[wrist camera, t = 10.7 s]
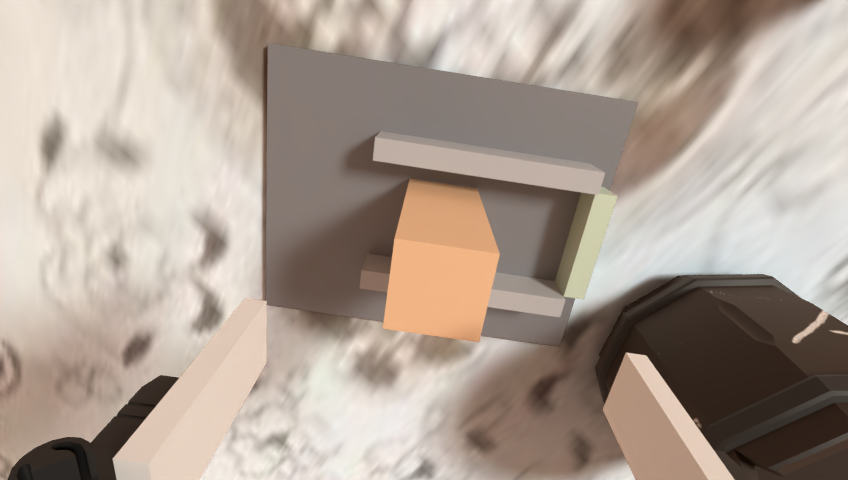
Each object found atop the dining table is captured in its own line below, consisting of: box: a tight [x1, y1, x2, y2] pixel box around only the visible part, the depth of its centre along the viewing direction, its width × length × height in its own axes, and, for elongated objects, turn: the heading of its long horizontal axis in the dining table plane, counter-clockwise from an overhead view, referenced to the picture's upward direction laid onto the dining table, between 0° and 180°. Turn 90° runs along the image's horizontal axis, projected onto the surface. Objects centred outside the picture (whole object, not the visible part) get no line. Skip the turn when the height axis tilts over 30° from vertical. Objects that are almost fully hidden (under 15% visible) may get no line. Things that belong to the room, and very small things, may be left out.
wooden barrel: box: [595, 274, 848, 480], centre depth 29 cm, size 18×18×16 cm
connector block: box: [383, 178, 500, 342], centre depth 26 cm, size 5×5×12 cm
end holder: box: [265, 43, 638, 347], centre depth 31 cm, size 20×25×4 cm
